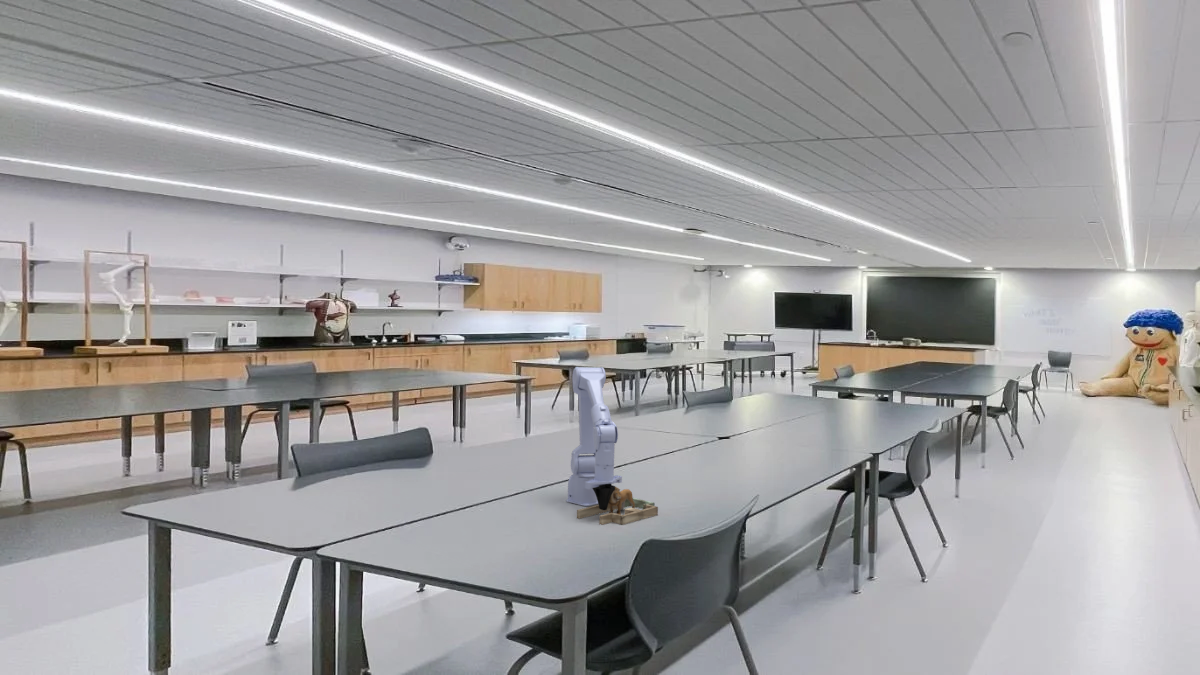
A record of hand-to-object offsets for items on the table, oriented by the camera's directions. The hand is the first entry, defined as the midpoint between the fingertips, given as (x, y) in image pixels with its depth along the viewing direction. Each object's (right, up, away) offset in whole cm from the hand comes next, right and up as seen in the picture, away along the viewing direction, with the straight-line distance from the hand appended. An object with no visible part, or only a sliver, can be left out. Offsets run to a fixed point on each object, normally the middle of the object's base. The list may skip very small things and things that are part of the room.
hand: (603, 509), depth 236 cm
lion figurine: (+6, -3, +7) cm, 9 cm away
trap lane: (+6, -3, +4) cm, 7 cm away
